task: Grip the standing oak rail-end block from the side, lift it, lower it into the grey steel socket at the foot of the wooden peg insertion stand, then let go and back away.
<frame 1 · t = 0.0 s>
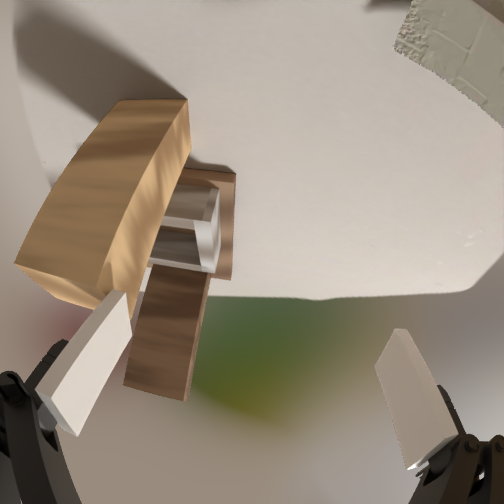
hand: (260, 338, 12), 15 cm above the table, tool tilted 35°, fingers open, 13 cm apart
wooden peg insertion stand: (172, 205, 29), on the table
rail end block: (155, 123, 20), on the table
wall: (495, 10, 5), on the table
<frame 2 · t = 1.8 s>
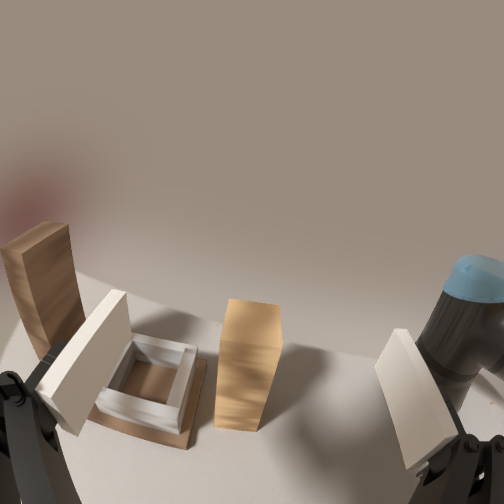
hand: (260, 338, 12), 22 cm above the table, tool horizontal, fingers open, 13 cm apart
wooden peg insertion stand: (151, 393, 30), on the table
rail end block: (237, 410, 30), on the table
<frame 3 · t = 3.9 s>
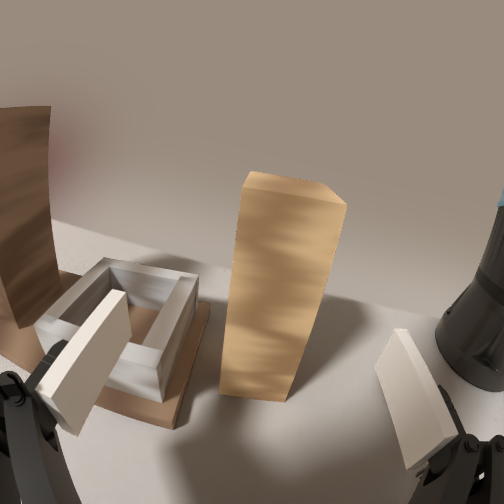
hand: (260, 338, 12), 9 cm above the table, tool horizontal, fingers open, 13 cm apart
wooden peg insertion stand: (128, 344, 21), on the table
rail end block: (253, 370, 21), on the table
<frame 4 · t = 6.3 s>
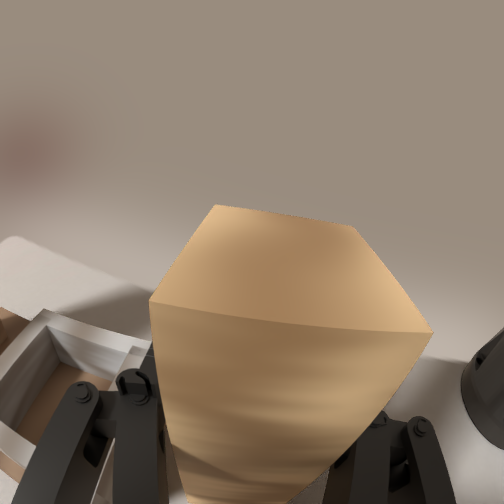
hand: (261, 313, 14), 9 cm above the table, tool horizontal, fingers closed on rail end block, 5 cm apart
wooden peg insertion stand: (77, 425, 13), on the table
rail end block: (235, 469, 13), on the table, touching gripper
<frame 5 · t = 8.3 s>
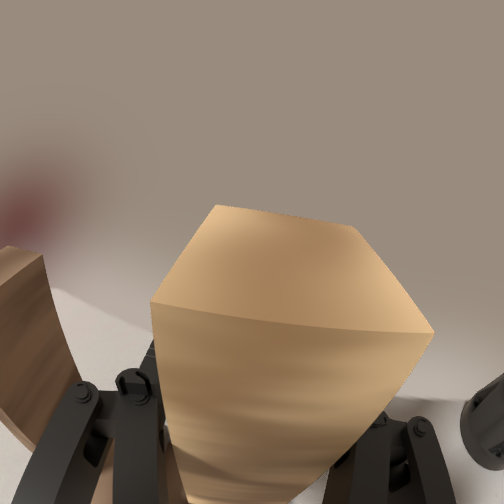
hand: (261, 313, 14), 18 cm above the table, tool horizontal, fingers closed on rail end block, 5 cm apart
wooden peg insertion stand: (197, 488, 17), on the table
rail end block: (236, 469, 13), point 9 cm above the table, touching gripper
when the fingers open (12 cm above the table, at t = 10.3 s): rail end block drops 1 cm, resting on wooden peg insertion stand.
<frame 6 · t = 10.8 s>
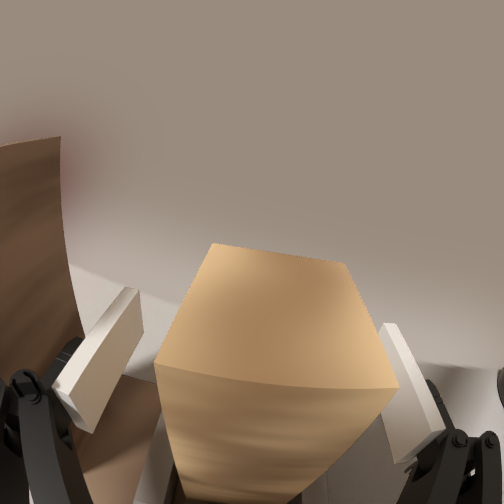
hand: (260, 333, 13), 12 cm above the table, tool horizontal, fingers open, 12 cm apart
wooden peg insertion stand: (232, 479, 14), on the table
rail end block: (233, 475, 13), point 1 cm above the table, touching wooden peg insertion stand
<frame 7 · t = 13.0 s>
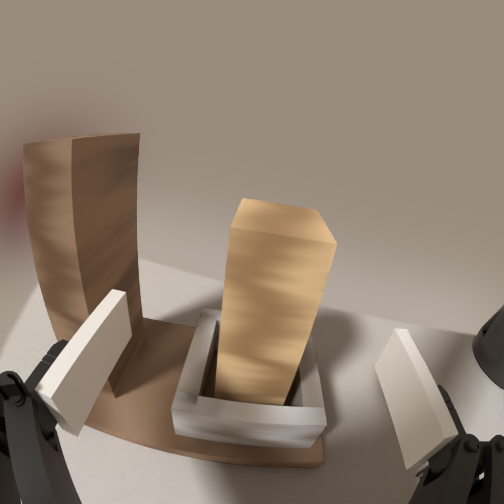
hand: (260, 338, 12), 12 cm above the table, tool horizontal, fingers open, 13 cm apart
wooden peg insertion stand: (246, 396, 22), on the table
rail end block: (247, 388, 21), point 1 cm above the table, touching wooden peg insertion stand
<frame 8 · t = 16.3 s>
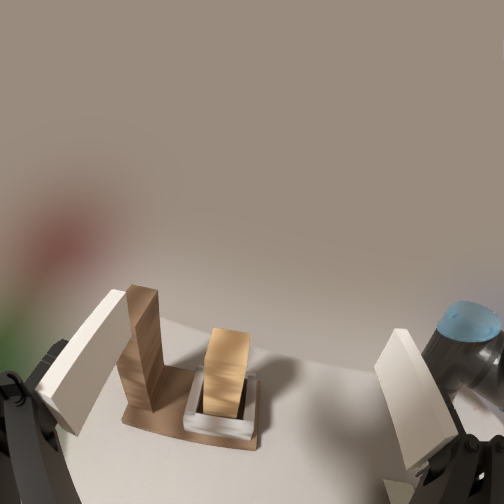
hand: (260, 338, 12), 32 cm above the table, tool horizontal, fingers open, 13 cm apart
wooden peg insertion stand: (221, 411, 40), on the table
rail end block: (221, 407, 39), point 1 cm above the table, touching wooden peg insertion stand
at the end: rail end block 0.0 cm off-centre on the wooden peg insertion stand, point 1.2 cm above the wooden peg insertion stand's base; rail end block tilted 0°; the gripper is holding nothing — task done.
